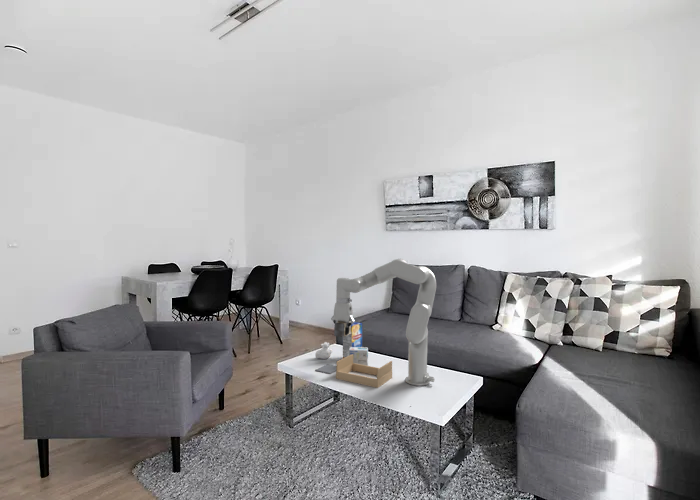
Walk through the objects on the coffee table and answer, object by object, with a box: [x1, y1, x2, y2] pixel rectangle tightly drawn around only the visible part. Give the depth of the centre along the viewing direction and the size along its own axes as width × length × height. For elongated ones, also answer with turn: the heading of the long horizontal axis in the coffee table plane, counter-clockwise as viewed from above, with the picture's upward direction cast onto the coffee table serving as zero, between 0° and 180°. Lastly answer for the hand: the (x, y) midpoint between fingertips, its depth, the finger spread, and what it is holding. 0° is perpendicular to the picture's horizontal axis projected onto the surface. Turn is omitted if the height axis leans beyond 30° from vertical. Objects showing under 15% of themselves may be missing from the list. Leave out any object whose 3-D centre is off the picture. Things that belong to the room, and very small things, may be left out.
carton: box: [335, 354, 393, 389], centre depth 211 cm, size 25×17×9 cm
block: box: [333, 321, 351, 338], centre depth 218 cm, size 5×9×7 cm, turn 150°
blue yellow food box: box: [342, 321, 363, 359], centre depth 243 cm, size 7×11×22 cm, turn 143°
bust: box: [315, 341, 333, 360], centre depth 245 cm, size 12×8×11 cm
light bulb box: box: [349, 346, 369, 366], centre depth 230 cm, size 11×7×11 cm, turn 84°
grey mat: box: [315, 363, 336, 375], centre depth 225 cm, size 10×12×1 cm
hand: (342, 333), depth 218 cm, fingers closed on block, 5 cm apart
